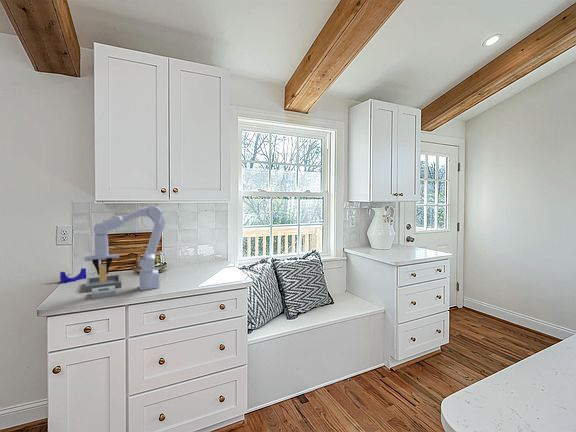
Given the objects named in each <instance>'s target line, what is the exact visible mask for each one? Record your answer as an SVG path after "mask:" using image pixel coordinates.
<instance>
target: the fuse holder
mask: <svg viewBox="0 0 576 432" xmlns="http://www.w3.org/2000/svg"><path fill="white" fill-rule="evenodd" d="M116 294H117V293H116V288H115V286H107V287H100V288H92V291H91V293H90V295H91V297H90V299H91V300H95V299H102V298H106V297H107V298H108V297H114V296H116Z"/></svg>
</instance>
